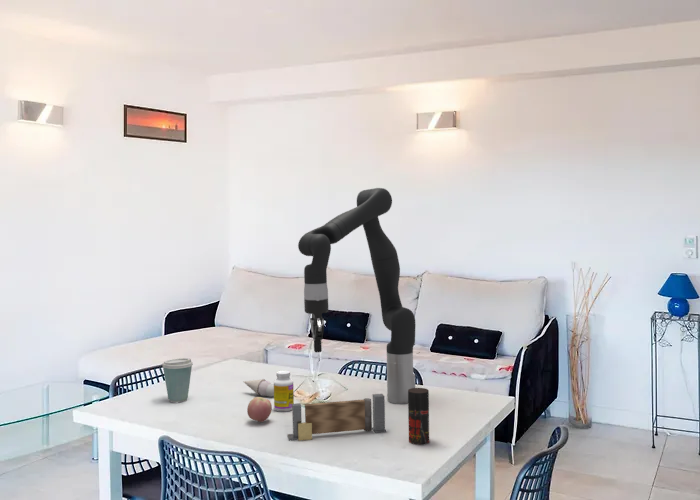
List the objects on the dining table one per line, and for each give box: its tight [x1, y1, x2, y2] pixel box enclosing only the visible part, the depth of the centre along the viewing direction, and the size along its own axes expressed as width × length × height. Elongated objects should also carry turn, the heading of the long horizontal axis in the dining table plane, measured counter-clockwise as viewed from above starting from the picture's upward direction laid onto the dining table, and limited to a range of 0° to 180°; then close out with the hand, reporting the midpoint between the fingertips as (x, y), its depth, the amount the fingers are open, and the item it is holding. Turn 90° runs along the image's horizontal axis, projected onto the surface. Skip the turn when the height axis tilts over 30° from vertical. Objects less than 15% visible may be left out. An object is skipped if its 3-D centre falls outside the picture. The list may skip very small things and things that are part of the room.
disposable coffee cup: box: [162, 357, 193, 403], centre depth 246 cm, size 11×11×15 cm
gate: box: [304, 397, 373, 435], centre depth 205 cm, size 20×2×10 cm, turn 102°
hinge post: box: [372, 393, 387, 434], centre depth 208 cm, size 4×4×11 cm
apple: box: [246, 396, 273, 423], centre depth 219 cm, size 8×8×8 cm
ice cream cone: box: [242, 378, 274, 398], centre depth 251 cm, size 6×6×15 cm
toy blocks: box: [286, 403, 313, 442], centre depth 203 cm, size 7×5×10 cm
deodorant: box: [407, 387, 430, 446], centre depth 197 cm, size 6×6×15 cm
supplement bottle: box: [273, 370, 295, 413], centre depth 232 cm, size 7×7×13 cm
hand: (317, 351), depth 215 cm, fingers closed
